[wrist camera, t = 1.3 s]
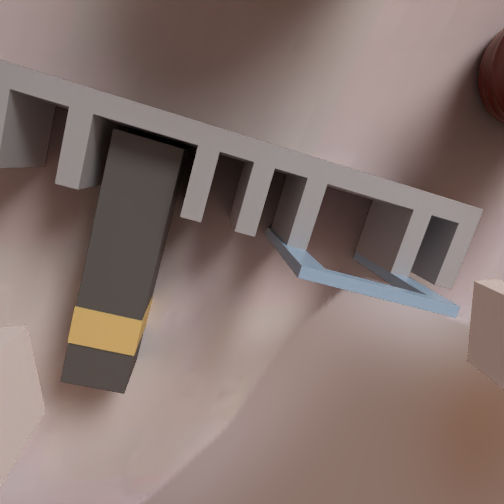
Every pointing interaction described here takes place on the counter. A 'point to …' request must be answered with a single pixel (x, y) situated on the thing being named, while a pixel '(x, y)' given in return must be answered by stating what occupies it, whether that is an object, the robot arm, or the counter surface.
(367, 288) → the blue bezel
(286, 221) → the grey slotted rack
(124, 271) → the grey banded bar
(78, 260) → the counter surface
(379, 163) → the counter surface
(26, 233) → the counter surface
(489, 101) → the mug
